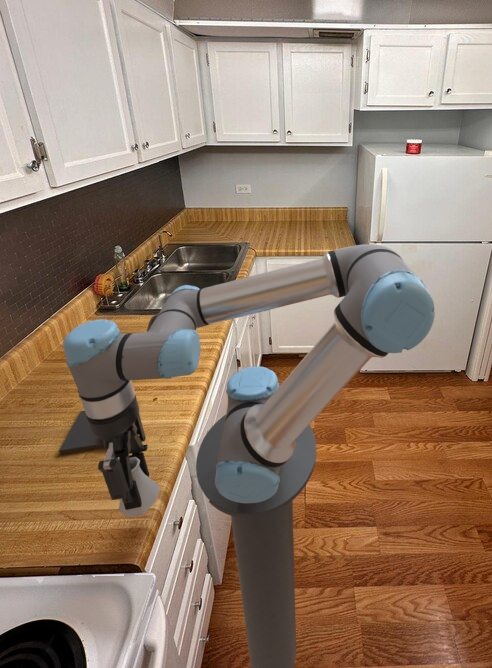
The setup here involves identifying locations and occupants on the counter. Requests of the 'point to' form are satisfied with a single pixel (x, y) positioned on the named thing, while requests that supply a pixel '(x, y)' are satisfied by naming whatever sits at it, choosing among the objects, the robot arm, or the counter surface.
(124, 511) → the flask
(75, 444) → the scale
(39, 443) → the counter surface
